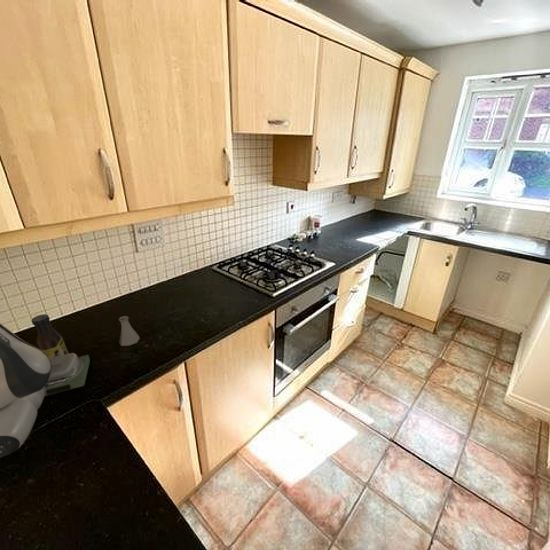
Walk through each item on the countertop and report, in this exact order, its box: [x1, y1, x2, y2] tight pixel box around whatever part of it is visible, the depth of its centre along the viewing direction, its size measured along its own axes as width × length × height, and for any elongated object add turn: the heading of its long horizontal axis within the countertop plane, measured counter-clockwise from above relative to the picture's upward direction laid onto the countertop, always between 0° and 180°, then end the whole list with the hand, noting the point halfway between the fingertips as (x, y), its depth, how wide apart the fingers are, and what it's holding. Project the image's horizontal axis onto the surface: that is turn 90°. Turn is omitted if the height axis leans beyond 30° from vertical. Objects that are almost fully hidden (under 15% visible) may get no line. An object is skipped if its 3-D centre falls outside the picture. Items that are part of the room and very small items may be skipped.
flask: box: [118, 315, 140, 347], centre depth 112 cm, size 7×7×10 cm
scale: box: [44, 354, 91, 397], centre depth 96 cm, size 13×14×3 cm
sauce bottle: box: [31, 313, 69, 358], centre depth 91 cm, size 6×6×20 cm
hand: (39, 356), depth 83 cm, fingers open, 8 cm apart
